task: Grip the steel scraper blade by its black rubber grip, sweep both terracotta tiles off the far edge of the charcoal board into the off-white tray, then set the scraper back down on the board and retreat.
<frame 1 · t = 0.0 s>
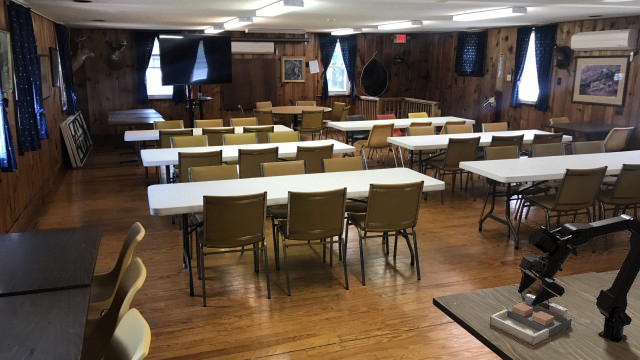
hand: (525, 298, 162), 15 cm above the table, tool tilted 35°, fingers open, 9 cm apart
tile 1: (522, 312, 178), point 3 cm above the table, touching board
board: (537, 321, 177), on the table
scraper: (545, 310, 179), point 3 cm above the table, touching board
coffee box: (534, 296, 197), on the table
tray: (518, 330, 171), on the table
tile 2: (542, 321, 172), point 3 cm above the table, touching board
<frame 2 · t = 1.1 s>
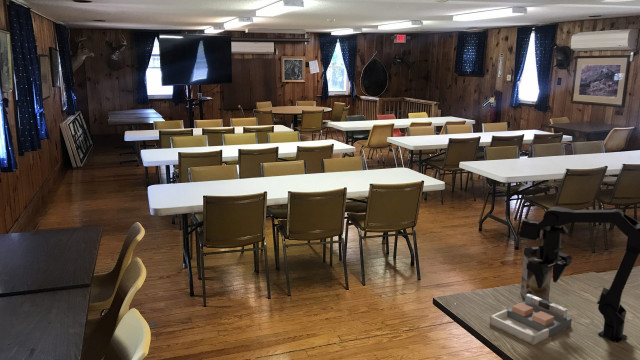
hand: (547, 285, 177), 13 cm above the table, tool pointing down, fingers open, 9 cm apart
nothing on the table moved.
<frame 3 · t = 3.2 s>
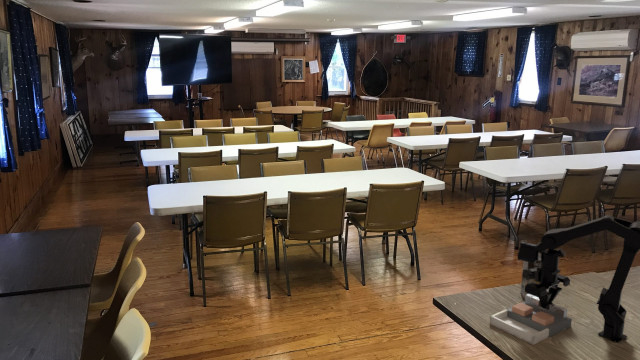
hand: (545, 307, 178), 5 cm above the table, tool pointing down, fingers closed on scraper, 2 cm apart
scraper: (545, 310, 179), point 3 cm above the table, touching board, gripper
everything else where it was.
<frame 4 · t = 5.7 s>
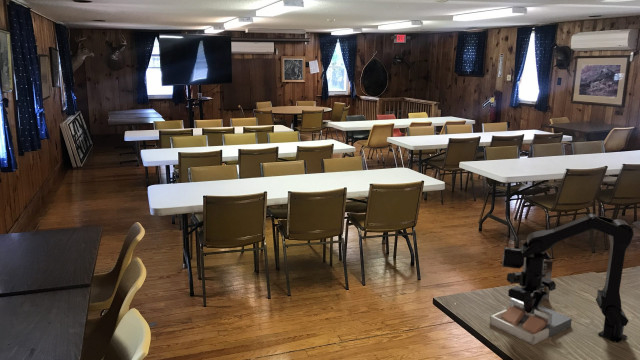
hand: (530, 311, 174), 5 cm above the table, tool pointing down, fingers closed on scraper, 2 cm apart
tile 1: (514, 317, 176), point 2 cm above the table, tilted 36°
scraper: (529, 315, 174), point 4 cm above the table, touching gripper
tile 2: (534, 327, 169), point 2 cm above the table, tilted 31°
everything else where it was.
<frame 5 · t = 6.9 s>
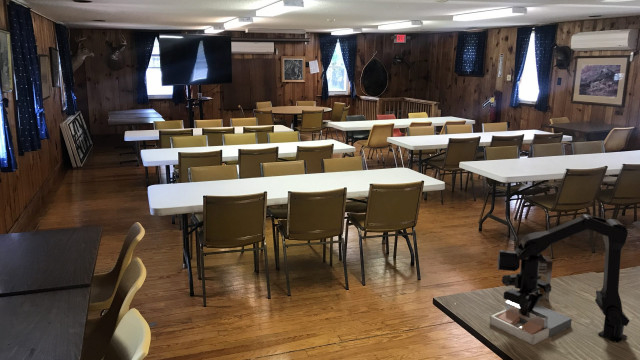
hand: (525, 314, 172), 5 cm above the table, tool pointing down, fingers closed on scraper, 2 cm apart
tile 1: (509, 321, 175), point 1 cm above the table, tilted 14°, touching scraper, tray
scraper: (525, 318, 173), point 3 cm above the table, tilted 7°, touching gripper, tile 2, tile 1
tile 2: (530, 332, 168), point 1 cm above the table, tilted 10°, touching scraper, tray
everything else where it was.
when the fingers open (5 cm above the table, at t = 9.1 s): scraper stays where it is, resting on board.
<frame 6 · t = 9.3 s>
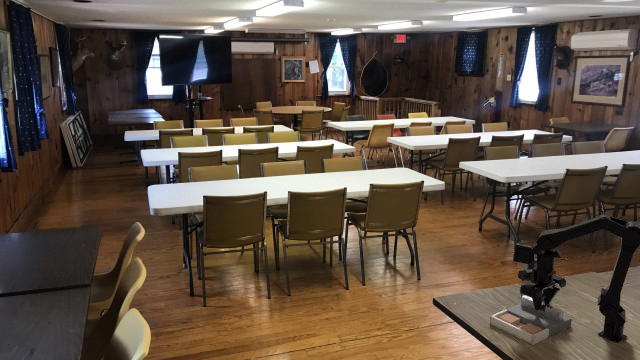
hand: (541, 308, 177), 5 cm above the table, tool pointing down, fingers open, 5 cm apart
tile 1: (509, 322, 175), point 1 cm above the table, touching tray
scraper: (541, 312, 178), point 3 cm above the table, touching board
tile 2: (530, 333, 168), point 1 cm above the table, touching tray
everything else where it was.
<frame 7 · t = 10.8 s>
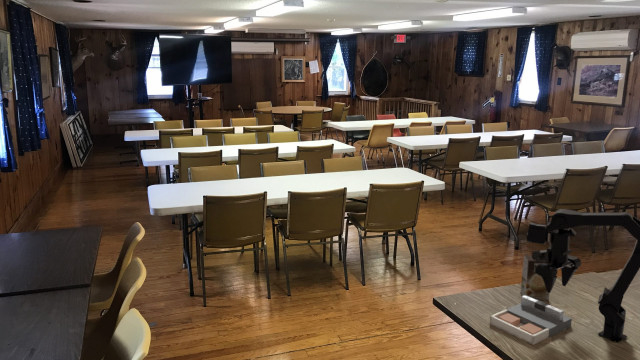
hand: (556, 289, 174), 13 cm above the table, tool pointing down, fingers open, 9 cm apart
nothing on the table moved.
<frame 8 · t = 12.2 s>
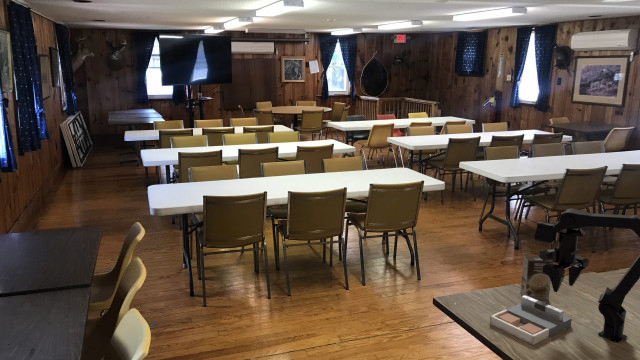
hand: (563, 288, 173), 13 cm above the table, tool pointing down, fingers open, 9 cm apart
nothing on the table moved.
at the end: tile 2 inside the target area (4.3 cm from its centre), point 0.6 cm above the table; tile 1 inside the target area (4.5 cm from its centre), point 0.6 cm above the table; scraper inside the target area (1.7 cm from its centre), point 3.0 cm above the table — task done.
